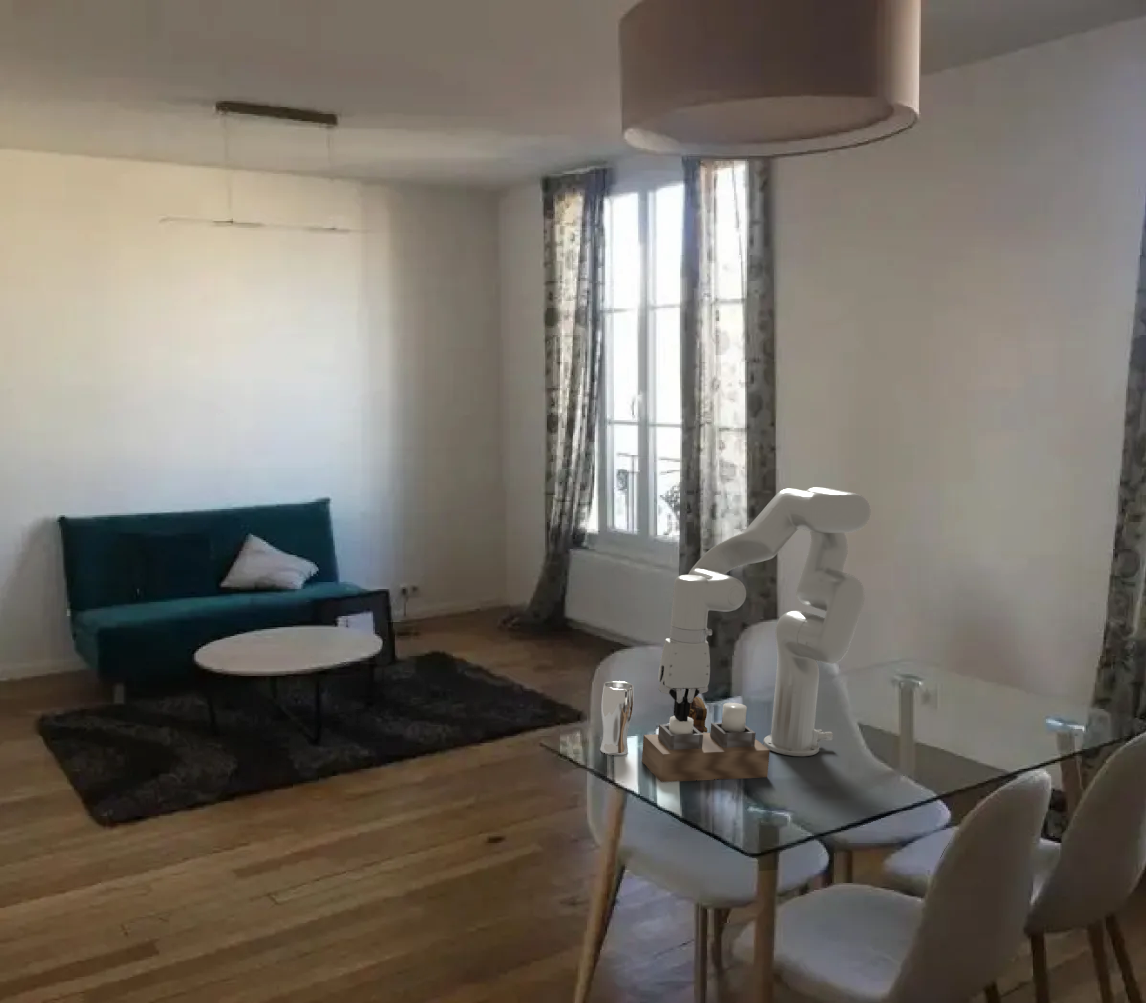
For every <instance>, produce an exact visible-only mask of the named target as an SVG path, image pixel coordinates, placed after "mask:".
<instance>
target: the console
mask: <svg viewBox="0 0 1146 1003" xmlns="http://www.w3.org/2000/svg"><path fill="white" fill-rule="evenodd" d="M721 726H722V722H710V731H709V732H704V733H701V732H699V731H698V730H697V729H696V728H695V727H694V726H693V734H672V733H671V732H670V731H669V724H667V723H666V724H658V732H657V734H656V733H655V734H643V738H642V740H643V742H642V754H641V762H642V764H643V765H644V764H645V765H646V766H647V767H646V766H645V765H644V766H645V767H646V768H647V769H648V770H649V771H650V772H651V773H652V774H653V775H654V776H655V778H656V779H657V780H658V781H659V782H660V783H670V782H671V783H672V782H675V783H676V782H692V781H693V782H695V781H696V780H697V781H714V779H715V780H717V779H719V780H734V779H738V780H739V779H759V778H761V779H762V778H768V773H769V764H770V763H769V762H770V751H771V750H769V749H768V748H767V747H765V746H764V744H763V743H762V742H760V741H759V740H758V739H756V731H754V730H752V728H750V727H749V726H748V725H746V724H745V731H744V732H728V731H725V730H723V729H722V728H721Z"/></svg>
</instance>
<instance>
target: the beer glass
mask: <svg viewBox="0 0 1146 1003" xmlns="http://www.w3.org/2000/svg"><path fill="white" fill-rule="evenodd" d="M600 707H601V708H600V709H601V720H602V722H601V723H602V733H603V734H602V741H601V744H600V745H601V746H600V752H601V753H602V754H604V753H605V754H604V755H607V754H608V756H612V755H617V756H616V757H619V756H618V755H622V756H625V755H627V754H628V753H629V747H628V732H629V728H630V724H631V719H632V715H633V710H634V685H633V684H632V683H629V682H626V681H620V680H619V681H617V680H613V681H605V682H604V683H603V689H602V697H601V705H600ZM624 754H625V755H624Z"/></svg>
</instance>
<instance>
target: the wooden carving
mask: <svg viewBox="0 0 1146 1003" xmlns="http://www.w3.org/2000/svg"><path fill="white" fill-rule="evenodd" d="M707 716H708V709H707V708H706V705H705V703H704V700H703V699H702V697H699V696H696V697H695V698H694V699H693V702H692V703H690V714H689V716H688V717H690V718H692V719H693V720H694V721H693V726H694V727H695V728H696V729H697V730H698V731H699V732H701V733H708V728H707V727H706V721H707Z"/></svg>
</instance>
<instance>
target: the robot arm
mask: <svg viewBox="0 0 1146 1003" xmlns="http://www.w3.org/2000/svg"><path fill="white" fill-rule="evenodd" d="M870 517H871V505H870V502H869V501H868V499H867V498H866V497H865V496H863V495H861V494H859V493H855V492H850V491H847V490H845V491H844V490H839V489H836V488H830V487H829V488H828V487H823V486H820V487H819V486H814V487H810V488H808V489H806V490H805V489H798V488H791V487H790V488H785V489H781V490H779V491H778V493H776V494H775V495H774V497H772V499H771V500H770V501H769V502H768V503H767V505H766V506H765V507H764V508H763V509H762V511H761V512H760V513H759V514H758V515H757V516H756V517H755V518H754V519H753V520H752V522H750V524H748V526H747V527H746V528H745V529H744V530H743V531H742V532H740V533H738V534H735V535H733V536H731V537H730V538H728V539H725V540H724V541H722V542H720V543H718V544H716V545H715V546H712V547H711V548H710V549H708V551H706V552H705V553H704V554H703V555H702V556H701V557H700V558H699V559H698V561H696V563H695V564H694V565H693V566H692V568H691V569H690V570H689V571H688V574H682V575H678V576H677V577H676V578H675V579H674V583H673V593H672V604H671V619H670V630H669V638H665V640H664V643H663V647H662V649H661V650H662V651H661V656H660V660H659V665H658V666H659V668H658V674H657V676H658V682H659V687H658V691H659V692H660V693H662V694H666V695H669V696H670V697H671V698H672V699H673V700H674V702H673V716H675V718H676V719H678V720H679V721H687V719H688V716H689V714H690V703H692V702H693V699H694V698H695V697H698V695H700V694H703V693H707V692H708V691H709V683H710V679H711V678H710V675H711V658H710V654H711V653H710V646H709V642H708V641H707V640H708V639H707V638H708V636H712V635H713V630H712V629H711V628H708V614H709V611H716V612H727V613H728V612H732V611H736V610H738V609H739V608H741V606H742V605H743V604H744V602H745V601H746V597H747V590H746V586H745V585H744V583H743V582H742V581H741V580H740V579H739V578H736V577H733V576H731V575H727V574H726V573H728V572H730V571H731V570H734V569H735V568H738V567H741V566H745V565H751V564H756V563H761V562H764V561H768V560H772V559H774V558H775V557H776V556H777V554H778V553H779V552H780V551H781V549H782V548H784V546H785V545H786V543H787V542H788V541H789V540H790V539H791V537H793V536H794V534H795V533H796V532H797V531H798V530H803V531H807V532H810V533H809V534H810V543H809V544H810V545H809V548H808V552H807V555H806V558H805V561H804V564H803V567H802V570H801V573H800V577H799V579H798V582H797V587H796V590H795V591H796V592H795V593H796V598H797V600H798V601H799V602H800V603H801V604H802V605H804V606H807V607H810V608H812V609H815V610H819V611H822V612H825V616H823V617H822V616H820V615H817V614H813V613H809V612H807V611H803V610H802V611H801V610H790V611H788V612H787V611H786V612H785V613H784V614H782V615H781V616H780V617H779V619H778V621H777V623H776V626H775V643H776V644H775V645H776V654H777V655H776V657H777V659H776V661H777V662H776V672H775V673H776V676H775V685H774V695H773V696H774V697H773V698H774V699H773V709H772V721H771V732H770V734H769V735H767V736H765V737H764V738H763V742H762V744H763V745H764V746H765V747H767V748H768V749H769V750H770V751H772V752H774V753H777V754H780V755H785V756H791V757H808V756H813V755H816V754H819V752H820V745H819V743H820V742H821V741H832V740H833V739H834V733H833V732H832V731H823V729H816V728H815V722H816V714H817V712H816V711H817V702H818V701H817V700H818V692H819V683H820V682H819V680H820V670H819V665H818V662H820V663H823V664H827V665H832V664H837V663H839V662H840V661H841V660H843V658H844V657H845V656H846V655H847V653H848V651H849V648H850V647H851V643H852V640H853V638H854V635H855V632H856V629H857V626H858V623H859V619H860V616H861V614H862V610H863V607H864V603H865V588H864V585H863V583H862V582H861V579H859V578H858V577H857V576H855V575H853V574H850V573H847V572H844V568H845V564H846V561H847V556H848V551H849V550H848V549H849V545H848V539H847V536H846V533H854V532H858V531H860V530H863V528H864V527H865V526H866V525H867V524H868V522H869V520H870ZM683 690H684V691H683Z"/></svg>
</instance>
